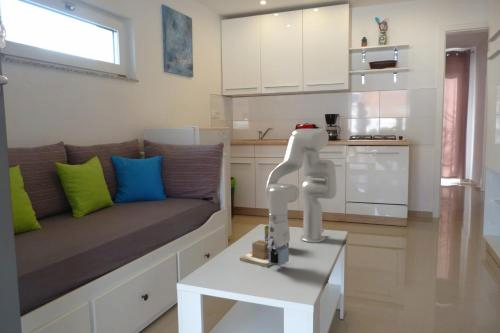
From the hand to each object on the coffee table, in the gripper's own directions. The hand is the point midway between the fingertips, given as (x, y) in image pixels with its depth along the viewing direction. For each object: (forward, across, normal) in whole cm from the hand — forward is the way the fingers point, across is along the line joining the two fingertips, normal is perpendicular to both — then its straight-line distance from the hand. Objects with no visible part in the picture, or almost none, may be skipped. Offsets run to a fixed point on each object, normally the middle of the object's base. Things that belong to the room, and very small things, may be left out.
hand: (278, 259), depth 152 cm
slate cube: (+1, 0, 0) cm, 1 cm away
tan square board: (+4, +5, +12) cm, 13 cm away
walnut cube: (+2, +5, +12) cm, 13 cm away
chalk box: (+5, +21, +14) cm, 26 cm away
